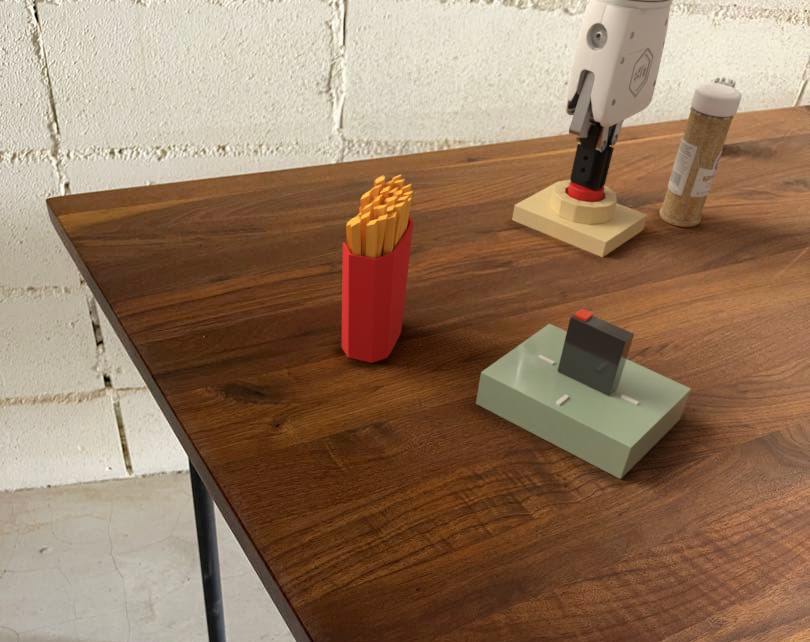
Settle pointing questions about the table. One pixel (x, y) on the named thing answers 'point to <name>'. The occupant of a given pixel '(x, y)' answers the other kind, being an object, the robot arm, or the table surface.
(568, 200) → the switch block
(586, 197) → the power button
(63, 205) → the table surface
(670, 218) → the spice jar
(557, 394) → the green flat block
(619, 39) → the robot arm
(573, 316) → the red-topped dark block
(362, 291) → the french fries
